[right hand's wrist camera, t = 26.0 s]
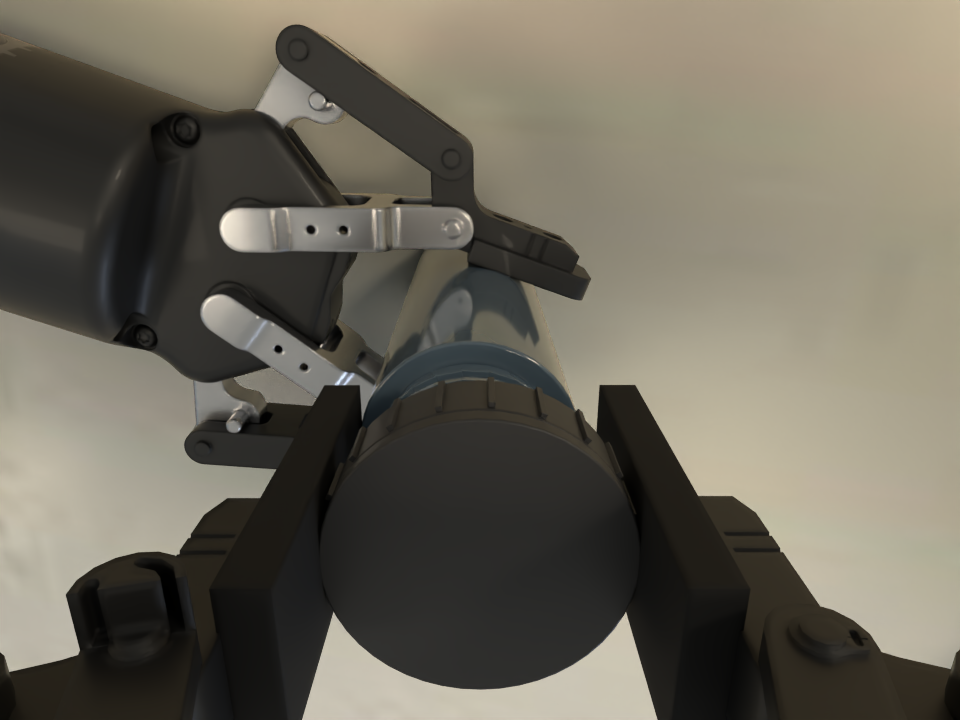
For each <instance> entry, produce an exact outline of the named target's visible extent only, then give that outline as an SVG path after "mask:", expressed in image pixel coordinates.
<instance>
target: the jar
mask: <svg viewBox="0 0 960 720" xmlns="http://www.w3.org/2000/svg"><path fill="white" fill-rule="evenodd" d="M488 377H494V381H500V382H505V383H511V384H517V385H521V386H524V387H527V388H530V389H534V390H535V388H536V387H539V388H542V391H543V393H544V394H546V395H548V396H550V397H552V398H555V399H556V400H558V401H560V402H561V403H563V404H564V405H566V406H568V407H569V408H571V409H572V410H573V411H575V412H576V410H575V407H574V404H573V401H572V398H571V395H570V392H569V389H568V386H567V383H566V380H565V377H564V374H563V371H562V368H561V365H560V362H559V359H558V356H557V353H556V350H555V347H554V344H553V341H552V338H551V335H550V332H549V329H548V326H547V323H546V320H545V317H544V314H543V311H542V308H541V305H540V302H539V299H538V296H537V293H536V290H535V287H534V285H531V284H528V283H525V282H523V281H520V280H517V279H514V278H511V277H508V276H506V275H504V274H501V273H498V272H496V271H492V270H489V269H486V268H483V267H480V266H477V265H474V264H472V263H469V262H467V252H464V251H461V250H458V249H457V250H428V249H425V250H424V252H423V253H422V255H421V257H420V260H419V262H418V265H417V268H416V270H415V273H414V276H413V279H412V282H411V284H410V287H409V290H408V293H407V295H406V298H405V301H404V304H403V307H402V309H401V312H400V315H399V318H398V320H397V323H396V326H395V329H394V332H393V334H392V337H391V340H390V343H389V345H388V348H387V351H386V354H385V357H384V359H383V362H382V365H381V368H380V370H379V373H378V376H377V379H376V382H375V384H374V387H373V390H372V393H371V395H370V398H369V401H368V404H367V407H366V409H365V412H364V416H363V420H362V425H361V427H362V426H364V427H365V428H366V429H367V428H368V426H369V425H370V424H371V423H372V422H373V421H374V420H375V419H377V418H378V417H379V416H380V415H381V414H382V413H384V412H385V411H386V410H387V409H389V408H390V407H392V405H393V402H394V400H395V399H397V398H400V400H403V399H405V398H407V397H409V396H412V395H414V394H416V393H418V392H420V391H423V390H426V389H429V388H432V387H435V386H438V382H439V381H445V384H449V383H454V382H460V381H475V380H483V381H487V380H488Z"/></svg>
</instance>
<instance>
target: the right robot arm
mask: <svg viewBox="0 0 960 720" xmlns="http://www.w3.org/2000/svg"><path fill="white" fill-rule="evenodd" d="M361 425H362V409H361V394H360V385H324V387H323V389H322V390H321V392H320V394H319V396H318V397H317V399H316V401H315V403H314V404H313V406H312V408H311V410H310V411H309V413H308V415H307V417H306V419H305V420H304V422H303V424H302V426H301V427H300V429H299V431H298V433H297V434H296V436H295V438H294V440H293V441H292V443H291V445H290V447H289V448H288V450H287V452H286V454H285V456H284V457H283V459H282V461H281V463H280V464H279V466H278V468H277V470H276V471H275V473H274V475H273V477H272V478H271V480H270V482H269V484H268V486H267V487H266V489H265V491H264V493H263V494H262V496H261V498H227V499H226V500H224V501H223V502H222V503H220V504H219V505H217V506H216V507H215V508H213V509H212V510H210V511H209V512H208V513H206V514H205V515H204V516H203V517H202V519H201V520H200V522H199V523H198V525H197V526H196V528H195V529H194V531H193V532H192V533H191V538H188V539H187V541H186V542H185V544H184V545H183V547H182V548H181V550H180V554H179V555H176V556H174V555H170V554H166V553H162V552H138V553H134V554H130V555H126V556H122V557H118V558H115V559H113V560H110V561H108V562H106V563H104V564H101V565H99V566H97V567H95V568H93V569H92V570H90V571H89V572H88V573H86V574H85V575H83V576H82V577H81V578H79V579H78V580H77V581H76V582H75V583H74V585H73V586H72V587H71V588H70V590H69V591H68V592H67V594H66V597H67V601H68V605H69V609H70V613H71V617H72V621H73V624H74V628H75V632H76V636H77V640H78V644H79V648H80V652H79V655H77V656H73V657H70V658H67V659H64V660H60V661H56V662H51V663H47V664H43V665H38V666H34V667H30V668H25V669H21V670H17V671H12V672H9V670H8V666H7V663H6V660H5V657H4V655H3V654H1V653H0V720H302V718H303V714H304V711H305V707H306V704H307V700H308V697H309V694H310V690H311V687H312V683H313V680H314V677H315V673H316V670H317V666H318V663H319V659H320V656H321V653H322V649H323V646H324V642H325V639H326V635H327V632H328V629H329V625H330V622H331V618H332V615H333V609H332V607H331V605H330V603H329V601H328V599H327V596H326V593H325V590H324V587H323V584H322V575H321V565H320V554H319V537H320V530H321V526H322V523H323V520H324V516H325V513H326V510H327V507H328V505H329V502H330V501H329V500H326V496H327V493H328V491H329V488H330V486H331V483H332V481H333V478H334V476H335V473H336V471H337V468H338V466H339V463H343V464H345V462H346V459H347V457H348V455H349V453H350V451H351V449H352V448H353V446H354V443H355V440H356V438H357V435H358V432H359V430H360V429H361ZM597 434H598V435H599V436H600V438H601V439H602V441H603V442H604V444H605V443H607V442H609V443H610V444H611V446H612V449H613V451H614V454H615V456H616V459H617V461H618V464H619V466H620V469H621V471H622V474H623V477H622V478H621V480H622V481H624V483H625V486H626V488H627V491H628V493H629V496H630V498H631V501H632V504H633V506H634V509H635V511H636V521H637V524H638V528H639V534H640V541H641V549H640V560H639V570H638V580H637V586H636V589H635V592H634V595H633V598H632V600H631V602H630V604H629V606H628V608H627V610H626V613H627V616H628V620H629V623H630V627H631V630H632V633H633V637H634V640H635V644H636V647H637V651H638V654H639V657H640V661H641V664H642V668H643V671H644V674H645V678H646V681H647V685H648V688H649V692H650V695H651V698H652V702H653V705H654V709H655V712H656V716H657V719H658V720H960V650H959V651H958V652H957V653H956V655H955V658H954V661H953V665H952V668H951V669H947V668H943V667H938V666H934V665H930V664H925V663H921V662H916V661H912V660H908V659H903V658H899V657H896V656H892V655H889V654H886V653H882V652H881V651H880V649H879V647H878V646H877V644H876V643H875V641H874V640H873V638H872V637H871V635H870V634H869V633H868V632H867V631H865V630H864V629H863V628H862V627H861V626H859V625H858V624H857V623H856V622H855V621H853V620H851V619H849V618H847V617H845V616H844V615H842V614H840V613H838V612H836V611H834V610H831V609H827V608H824V607H820V606H819V604H818V603H817V601H816V600H815V598H814V597H813V595H812V594H811V592H810V591H809V590H808V588H807V587H806V585H805V584H804V582H803V581H802V579H801V578H800V576H799V575H798V574H797V572H796V571H795V569H794V568H793V566H792V565H791V563H790V562H789V560H788V559H787V558H786V556H785V555H784V553H783V552H780V547H779V546H778V544H777V543H776V542H775V540H774V539H773V537H772V536H769V531H768V530H767V528H766V527H765V526H764V524H763V523H762V521H761V520H760V518H759V517H758V515H757V514H756V513H755V512H754V511H752V510H751V509H750V508H748V507H747V506H745V505H744V504H743V503H741V502H740V501H738V500H737V499H736V498H734V497H733V496H698V495H697V493H696V492H695V490H694V488H693V486H692V485H691V483H690V481H689V479H688V477H687V476H686V474H685V472H684V470H683V469H682V467H681V465H680V463H679V462H678V460H677V458H676V456H675V455H674V453H673V451H672V449H671V447H670V446H669V444H668V442H667V440H666V439H665V437H664V435H663V433H662V432H661V430H660V428H659V426H658V425H657V423H656V421H655V419H654V417H653V416H652V414H651V412H650V410H649V409H648V407H647V405H646V403H645V402H644V400H643V398H642V396H641V395H640V393H639V391H638V389H637V388H636V386H635V385H600V388H599V403H598V418H597Z"/></svg>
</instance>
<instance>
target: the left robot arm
mask: <svg viewBox="0 0 960 720" xmlns="http://www.w3.org/2000/svg"><path fill="white" fill-rule="evenodd" d="M276 54H277V58H278V60H279V62H280V63H279V65H278V67H277V69H276V71H275V73H274V75H273V76H272V78H271V80H270V82H269V84H268V86H267V87H266V89H265V91H264V93H263V95H262V97H261V99H260V100H259V102H258V104H257V106H256V108H255V109H240V110H235V111H230V112H220V111H215V110H211V109H208V108H205V107H202V106H199V105H197V104H194V103H191V102H189V101H186V100H183V99H180V98H178V97H175V96H172V95H169V94H167V93H164V92H161V91H158V90H156V89H153V88H150V87H147V86H145V85H142V84H139V83H136V82H134V81H131V80H128V79H125V78H123V77H120V76H117V75H115V74H112V73H109V72H106V71H104V70H101V69H98V68H95V67H93V66H90V65H87V64H84V63H81V62H79V61H76V60H73V59H71V58H68V57H65V56H62V55H60V54H57V53H54V52H51V51H49V50H46V49H43V48H40V47H37V46H35V45H32V44H29V43H26V42H24V41H21V40H18V39H15V38H13V37H10V36H7V35H5V34H2V33H0V309H1V310H4V311H7V312H10V313H13V314H17V315H20V316H23V317H26V318H29V319H32V320H36V321H39V322H42V323H45V324H48V325H52V326H55V327H58V328H61V329H64V330H67V331H71V332H74V333H77V334H80V335H83V336H87V337H90V338H93V339H96V340H99V341H102V342H106V343H110V344H114V345H120V346H126V347H132V348H138V349H143V350H147V351H150V352H153V353H155V354H157V355H158V356H160V357H162V358H163V359H165V360H166V361H167V362H169V363H170V364H171V365H172V366H173V367H174V368H176V369H177V370H178V371H179V372H180V373H181V374H183V375H184V376H185V377H187V378H189V379H191V380H193V382H194V397H195V411H196V426H195V427H194V429H193V431H192V432H191V433H190V434H189V435H188V436H187V438H186V440H185V443H184V447H185V451H186V453H187V455H188V456H189V457H190V458H191V459H192V460H194V461H195V462H198V463H201V464H209V465H223V466H237V467H252V468H266V469H277V468H278V466H279V464H280V463H281V461H282V459H283V457H284V456H285V454H286V452H287V450H288V448H289V447H290V445H291V443H292V441H293V440H294V438H295V436H296V434H297V433H298V431H299V429H300V427H301V426H302V424H303V422H304V420H305V419H306V417H307V415H308V413H309V411H310V410H311V408H312V406H305V405H291V404H278V403H266V400H265V398H264V397H263V396H262V394H261V393H260V392H259V391H254V390H251V389H246V388H244V387H242V386H240V385H239V384H238V383H237V382H236V381H235V380H234V377H237V376H241V375H244V374H248V373H251V372H255V371H259V370H262V369H266V368H269V367H272V368H273V369H275V370H276V371H278V372H279V373H281V374H282V375H284V376H285V377H286V378H288V379H289V380H291V381H292V382H294V383H295V384H297V385H298V386H300V387H301V388H303V389H304V390H305V391H307V392H308V393H310V394H311V395H313V396H314V397H316V398H317V397H318V396H319V394H320V392H321V390H322V389H323V387H324V385H360V394H361V409H362V420H363V416H364V412H365V409H366V407H367V404H368V401H369V398H370V395H371V393H372V390H373V387H374V384H375V382H376V379H377V376H378V373H379V370H380V368H381V365H382V362H383V359H384V358H383V357H381V356H380V355H378V354H377V353H376V352H374V351H373V350H372V349H370V348H369V347H368V346H367V345H366V343H365V341H364V339H363V338H362V337H361V336H360V335H359V334H358V333H357V332H355V331H354V330H353V329H351V328H350V327H348V326H347V325H346V324H344V323H343V322H341V321H340V320H339V319H338V317H339V313H340V310H341V307H342V295H343V278H344V277H345V275H346V274H347V272H348V270H349V269H350V267H351V266H352V264H353V263H354V261H355V259H356V257H357V253H358V252H384V251H389V250H394V249H428V250H457V249H458V250H461V251H464V252H467V262H469V263H472V264H474V265H477V266H480V267H483V268H486V269H489V270H492V271H496V272H498V273H501V274H504V275H506V276H508V277H511V278H514V279H517V280H520V281H523V282H525V283H528V284H531V285H534V286H537V287H540V288H543V289H545V290H548V291H551V292H554V293H557V294H560V295H562V296H565V297H568V298H571V299H575V300H582V299H583V296H584V294H585V292H586V289H587V287H588V285H589V282H590V280H591V278H590V276H589V275H588V273H587V272H586V270H585V269H584V268H583V267H581V266H579V265H577V264H576V263H577V261H578V259H579V256H578V254H577V253H576V251H575V250H574V248H573V247H572V246H571V245H570V244H569V243H567V242H566V241H565V240H564V239H563V238H562V237H561V236H559V235H556V234H553V233H551V232H548V231H545V230H542V229H540V228H537V227H534V226H531V225H529V224H526V223H523V222H520V221H518V220H515V219H512V218H509V217H507V216H504V215H501V214H498V213H496V212H493V211H490V210H488V209H486V208H485V207H483V206H482V205H481V204H480V202H479V201H478V200H477V198H476V195H475V192H474V168H473V147H472V144H471V143H470V141H469V140H468V139H467V138H466V137H465V136H464V135H462V134H461V133H460V132H458V131H457V130H455V129H454V128H453V127H451V126H450V125H448V124H447V123H446V122H444V121H443V120H442V119H440V118H439V117H437V116H436V115H435V114H433V113H432V112H431V111H429V110H428V109H426V108H425V107H424V106H422V105H421V104H420V103H418V102H417V101H415V100H414V99H413V98H411V97H410V96H408V95H407V94H406V93H404V92H403V91H402V90H400V89H399V88H397V87H396V86H395V85H393V84H392V83H391V82H389V81H388V80H386V79H385V78H384V77H382V76H381V75H380V74H378V73H377V72H375V71H374V70H373V69H371V68H370V67H368V66H367V65H366V64H364V63H363V62H362V61H360V60H359V59H357V58H356V57H355V56H353V55H352V54H351V53H349V52H348V51H346V50H345V49H344V48H342V47H341V46H340V45H338V44H337V43H335V42H334V41H333V40H331V39H330V38H328V37H327V36H325V35H323V34H321V33H318V32H316V31H314V30H312V29H310V28H308V27H306V26H303V25H291V26H288V27H286V28H285V29H284V30H282V32H281V33H280V34H279V36H278V38H277V41H276ZM347 114H350V115H351V116H352V117H354V118H355V119H357V120H358V121H360V122H361V123H362V124H364V125H365V126H367V127H368V128H369V129H371V130H372V131H374V132H375V133H377V134H378V135H379V136H381V137H382V138H384V139H385V140H387V141H388V142H389V143H391V144H392V145H394V146H395V147H396V148H398V149H399V150H401V151H402V152H404V153H405V154H406V155H408V156H409V157H411V158H412V159H414V160H415V161H416V162H418V163H419V164H421V165H422V166H424V167H425V168H426V169H428V170H429V171H431V192H432V196H401V195H397V194H377V193H340V192H339V191H338V189H337V188H336V187H335V185H334V184H333V183H332V181H331V180H330V179H329V177H328V176H327V175H326V173H325V172H324V171H323V169H322V168H321V166H320V165H319V164H318V162H317V161H316V160H315V158H314V157H313V156H312V154H311V153H310V152H309V150H308V149H307V147H306V146H305V145H304V143H303V142H302V141H301V139H300V138H299V137H298V135H297V134H296V133H295V131H294V130H293V128H292V126H293V125H294V124H295V123H296V122H297V121H298V120H300V119H302V118H307V119H310V120H312V121H314V122H316V123H319V124H333V123H338V122H340V121H341V120H343V119H344V118H345V117H346V116H347ZM306 364H307V365H306Z"/></svg>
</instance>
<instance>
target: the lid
mask: <svg viewBox="0 0 960 720" xmlns="http://www.w3.org/2000/svg"><path fill="white" fill-rule="evenodd" d="M622 477H623V474H622V471H621V469H620V466H619V464H618V461H617V459H616V456H615V454H614V451H613V449H612V446H611V444H610V443H609V442H607V443H605V444H604V442H603V441H602V439H601V438H600V436H599V435H598V434H597V432H596V431H595V430H594V429H593V428H592V427H591V426H590V425H589V424H588V423H587V422H586V421H585V418H584V415H583V412H581V411H580V410H579V409H578V410H577V411H576V412H575V411H573V410H572V409H571V408H569V407H568V406H566V405H564V404H563V403H561V402H560V401H558V400H556V399H555V398H552V397H550V396H548V395H546V394H544V393H543V391H542V388H539V387H536V388H535V390H534V389H530V388H527V387H524V386H521V385H517V384H511V383H505V382H500V381H494V377H488V380H487V381H483V380H475V381H460V382H454V383H449V384H445V381H439V382H438V386H435V387H432V388H429V389H426V390H423V391H420V392H418V393H416V394H414V395H412V396H409V397H407V398H405V399H403V400H400V398H397V399H395V400H394V402H393V405H392V407H390V408H389V409H387V410H386V411H385V412H384V413H382V414H381V415H380V416H379V417H378V418H377V419H375V420H374V421H373V422H372V423H371V424H370V425H369V426H368V428H367V429H366V428H365V427H364V426H362V427H361V429H360V430H359V432H358V435H357V438H356V440H355V443H354V446H353V448H352V449H351V451H350V453H349V455H348V457H347V459H346V462H345V464H343V463H339V466H338V468H337V471H336V473H335V476H334V478H333V481H332V483H331V486H330V488H329V491H328V493H327V496H326V500H329V501H330V502H329V505H328V507H327V510H326V513H325V516H324V520H323V523H322V526H321V530H320V537H319V554H320V565H321V575H322V584H323V587H324V590H325V593H326V596H327V599H328V601H329V603H330V605H331V607H332V609H333V611H334V613H335V615H336V617H337V618H338V619H339V621H340V622H341V624H342V625H343V626H344V628H345V629H346V631H347V632H348V633H349V634H350V635H351V636H352V637H353V638H354V639H355V640H356V641H357V642H358V644H359V645H361V646H362V647H363V648H364V649H366V650H367V651H368V652H369V653H370V654H372V655H373V656H374V657H376V658H377V659H379V660H380V661H382V662H383V663H385V664H386V665H388V666H390V667H392V668H394V669H396V670H398V671H400V672H402V673H404V674H406V675H408V676H411V677H414V678H417V679H419V680H422V681H425V682H429V683H433V684H437V685H441V686H447V687H454V688H460V689H499V688H506V687H512V686H519V685H523V684H526V683H530V682H534V681H538V680H540V679H543V678H546V677H548V676H551V675H553V674H556V673H558V672H560V671H562V670H564V669H566V668H568V667H570V666H571V665H573V664H575V663H576V662H578V661H579V660H581V659H582V658H584V657H585V656H587V655H588V654H589V653H591V652H592V651H593V650H594V649H595V648H596V647H598V646H599V645H600V644H601V643H602V642H603V641H604V640H605V639H606V638H607V637H608V635H609V634H610V633H611V632H612V631H613V630H614V629H615V627H616V626H617V624H618V623H619V621H620V620H621V619H622V617H623V616H624V614H625V612H626V610H627V608H628V606H629V604H630V602H631V600H632V598H633V595H634V592H635V589H636V586H637V580H638V570H639V560H640V549H641V541H640V534H639V528H638V524H637V521H636V511H635V509H634V506H633V504H632V501H631V498H630V496H629V493H628V491H627V488H626V486H625V483H624V481H622V480H621V478H622Z"/></svg>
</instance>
